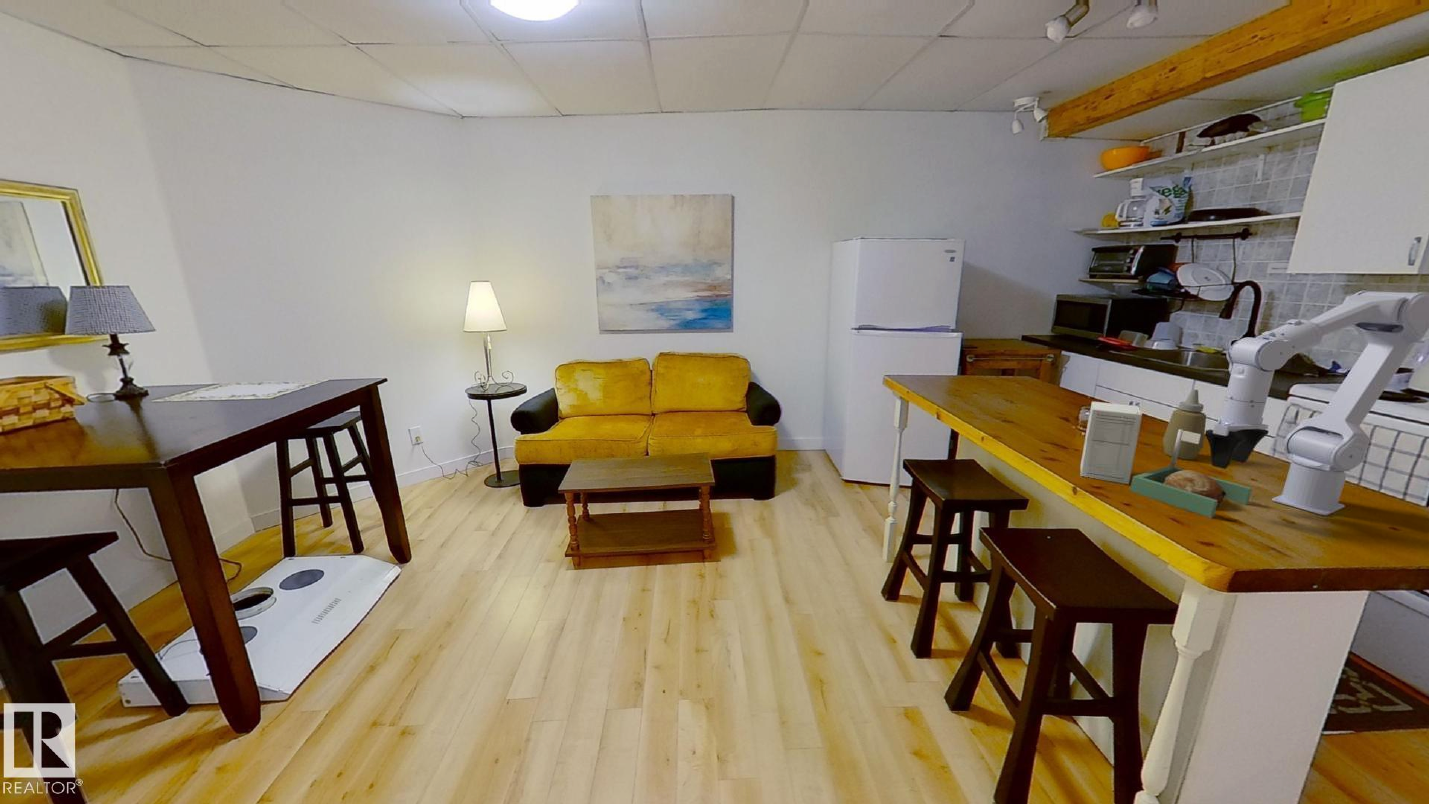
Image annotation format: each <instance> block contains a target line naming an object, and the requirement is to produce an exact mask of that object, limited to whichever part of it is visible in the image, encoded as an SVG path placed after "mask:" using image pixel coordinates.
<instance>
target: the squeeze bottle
mask: <svg viewBox="0 0 1429 804" xmlns="http://www.w3.org/2000/svg"><path fill="white" fill-rule="evenodd" d="M1204 406H1205V405H1204V404H1202V403H1200V401H1199V389H1195V388H1194V389H1191V391H1190V392H1189V394H1188V396H1187V398H1186V400H1185V401H1180V402H1179V405H1178V409H1175V410H1173V411H1172V414H1171V417H1170V419H1169V422H1168V425H1167V427H1166V429H1165V432H1164V436H1163V438H1162V443H1163V448H1164V454H1165V453H1166V454H1165V455H1167V456H1169V457H1171V458H1172V457H1173V452H1174V448H1175V443H1176V439H1177V435H1178V430H1179V429H1182V430H1183V431H1188V432H1192V433H1197V434H1201V437H1200V441H1199V444H1196V443H1191V442H1187V441H1183V440H1181V443H1180V447H1179V451H1178V456H1177V459H1180V458H1181V460H1194V459H1196V457H1198V454H1200V453H1201V451H1202V449H1203V448H1204V441H1205V432H1206V422H1207V414H1205V412H1203V411H1204Z"/></svg>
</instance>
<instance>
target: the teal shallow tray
mask: <svg viewBox="0 0 1429 804" xmlns="http://www.w3.org/2000/svg"><path fill="white" fill-rule="evenodd" d="M1200 437H1201V434H1197V433H1192V432H1188V431H1183V430H1182V429H1179V430H1178V435H1177V439H1176V443H1175V448H1174V452H1173V457H1172V456H1171V461H1170V465H1169V466H1165V467H1161V468H1158V469H1154V470H1151V471H1148V472H1145V473H1141V474H1136V475H1134V476H1132V480H1131V483H1130V488H1129V491H1130V492H1131V493H1135V494H1137V495H1141V496H1144V497H1145V498H1146V497H1147V498H1150V499H1153V500H1155V501H1159V502H1162V503H1165V504H1168V505H1171V506H1173V507H1176V508H1179V509H1182V510H1186V511H1189V512H1192V513H1195V514H1198V515H1201V516H1204V517H1208V518H1210V519H1211V518H1214V517H1215V513H1216V509H1217V507H1216V506H1217V502H1218V500H1215V499H1211V498H1208V497H1205V496H1202V495H1198V494H1195V493H1192V492H1188V491H1185V490H1182V489H1179V488H1175V487H1172V486H1169V485H1165V484H1163V483H1164V482H1165V479H1166V477H1168V476H1169V475H1171V474H1172V473H1175V472H1178V471H1184V470H1186V469H1184V468H1181V467H1178V466H1176V463H1177V461H1178V460H1177V459H1178V458H1177V456H1178V451H1179V447H1180V443H1181V440H1183V441H1187V442H1191V443H1196V444H1199V441H1200ZM1208 476H1209V477H1210V478H1212V479H1214V480H1215V481H1216V482H1217V483H1219V485H1220V486H1221V487H1222V489H1223V490H1224V491H1225V492H1226V495H1225V496H1224V500H1225V499H1226V500H1229V501H1232V502H1235V503H1239V504H1243V505H1247V504H1249V501H1250V498H1251V494H1252V491H1253V488H1252V487H1250V486H1246V485H1242V484H1239V483H1235V482H1232V481H1228V480H1224V479H1220V478H1217V477H1213V476H1210V475H1208Z"/></svg>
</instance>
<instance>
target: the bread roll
mask: <svg viewBox="0 0 1429 804" xmlns="http://www.w3.org/2000/svg"><path fill="white" fill-rule="evenodd" d="M1209 476H1210V475H1206V474H1204V473H1202V472H1197V471H1195V470H1190V469H1185V470H1184V471H1178V472H1175V473H1172V474H1171V475H1169V476H1168V477H1166V479H1165V482H1164V483H1163V484H1165V485H1169V486H1172V487H1175V488H1179V489H1182V490H1185V491H1188V492H1192V493H1195V494H1198V495H1202V496H1205V497H1208V498H1211V499H1215V500H1218V502H1217V506H1216V508H1218V507H1220V506H1221V505H1223V503H1224V501H1225V498H1224V496H1225V495H1226V492H1225V491H1224V490H1223V489H1222V487H1221V486H1220V485H1219V483H1217V482H1216V481H1215V480H1214V479H1212V478H1210V477H1211V476H1210V477H1209Z"/></svg>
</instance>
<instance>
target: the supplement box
mask: <svg viewBox="0 0 1429 804" xmlns="http://www.w3.org/2000/svg"><path fill="white" fill-rule="evenodd" d="M1089 408H1090V410H1089V416H1088V420H1087V425H1086V431H1085V438H1084V444H1083V448H1082V450H1083V451H1082V456H1081V461H1080V466H1079V467H1080V477H1082V476H1084V477H1083V478H1088V477H1089V478H1088V479H1094V478H1095V480H1101V481H1107V482H1113V483H1118V484H1124V485H1129V484H1130V480H1131V477H1132V476H1131V475H1132V470H1133V464H1134V460H1135V454H1136V449H1137V443H1138V440H1139V435H1140V434H1139V433H1140V428H1141V423H1142V417H1143V413H1142V411H1141V410H1140V407H1139V406H1138V405H1130V404H1129V405H1128V404H1120V403H1112V402H1111V403H1110V402H1101V401H1091V405H1090V407H1089Z"/></svg>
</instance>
